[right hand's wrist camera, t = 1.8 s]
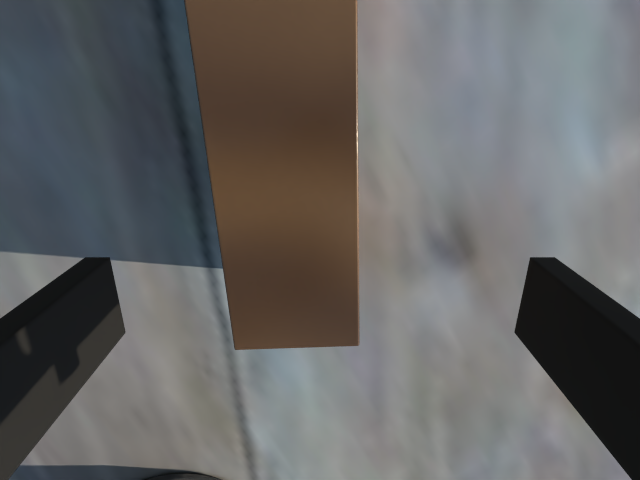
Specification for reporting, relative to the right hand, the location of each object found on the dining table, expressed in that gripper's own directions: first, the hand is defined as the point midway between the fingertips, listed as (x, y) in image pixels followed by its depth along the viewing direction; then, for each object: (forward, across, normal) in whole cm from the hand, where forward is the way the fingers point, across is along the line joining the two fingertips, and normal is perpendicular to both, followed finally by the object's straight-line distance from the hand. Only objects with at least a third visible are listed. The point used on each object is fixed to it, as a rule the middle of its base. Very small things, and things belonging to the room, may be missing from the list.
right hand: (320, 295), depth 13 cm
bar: (+13, +3, -34) cm, 36 cm away
